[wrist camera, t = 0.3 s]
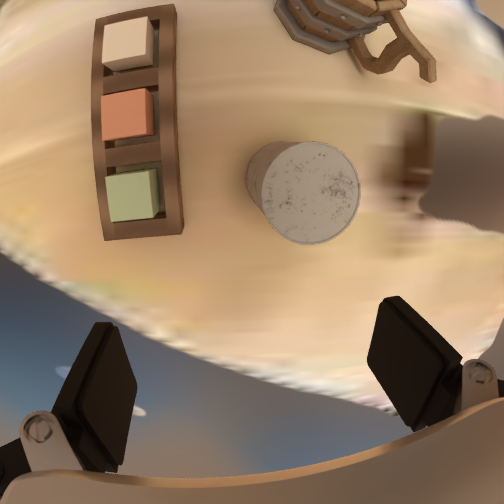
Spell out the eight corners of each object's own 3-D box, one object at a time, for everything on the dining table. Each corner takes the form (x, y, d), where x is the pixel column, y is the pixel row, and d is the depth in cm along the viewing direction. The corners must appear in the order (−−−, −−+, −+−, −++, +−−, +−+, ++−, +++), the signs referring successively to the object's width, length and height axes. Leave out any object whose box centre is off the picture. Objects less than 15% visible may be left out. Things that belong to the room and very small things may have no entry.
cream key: (115, 37, 25) (104, 25, 21) (154, 30, 26) (147, 16, 22) (114, 71, 27) (101, 63, 23) (153, 64, 28) (145, 54, 24)
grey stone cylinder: (298, 225, 39) (332, 259, 28) (233, 197, 37) (243, 222, 26) (329, 162, 37) (376, 172, 25) (265, 129, 34) (289, 122, 23)
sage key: (117, 172, 32) (105, 177, 28) (156, 167, 32) (148, 171, 28) (122, 212, 34) (110, 221, 30) (160, 208, 34) (153, 217, 30)
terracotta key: (114, 101, 29) (101, 96, 25) (153, 94, 29) (145, 88, 25) (115, 140, 30) (102, 140, 26) (154, 134, 31) (146, 133, 27)
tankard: (260, -8, 27) (284, -70, 13) (334, -25, 26) (380, -73, 12) (331, 110, 34) (395, 98, 20) (398, 83, 34) (470, 71, 20)
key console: (104, 27, 26) (95, 19, 23) (176, 14, 27) (173, 3, 24) (112, 232, 36) (104, 240, 33) (184, 226, 37) (181, 234, 34)
